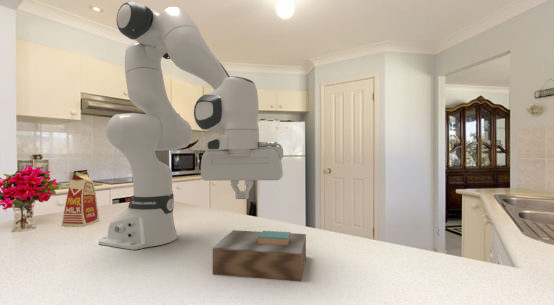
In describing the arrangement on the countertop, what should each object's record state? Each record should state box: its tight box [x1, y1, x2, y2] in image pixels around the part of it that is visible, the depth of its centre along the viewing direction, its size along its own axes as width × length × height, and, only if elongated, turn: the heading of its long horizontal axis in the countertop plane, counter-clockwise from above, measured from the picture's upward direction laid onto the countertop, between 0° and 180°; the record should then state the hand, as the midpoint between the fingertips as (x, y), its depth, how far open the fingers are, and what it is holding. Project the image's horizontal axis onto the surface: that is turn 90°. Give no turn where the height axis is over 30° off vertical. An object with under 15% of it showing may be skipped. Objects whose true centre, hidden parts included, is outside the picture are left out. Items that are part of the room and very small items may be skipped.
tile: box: [258, 230, 291, 245], centre depth 68 cm, size 7×5×2 cm
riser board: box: [212, 229, 307, 282], centre depth 69 cm, size 20×14×6 cm
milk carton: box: [61, 171, 100, 227], centre depth 109 cm, size 9×9×20 cm
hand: (242, 198), depth 69 cm, fingers closed
